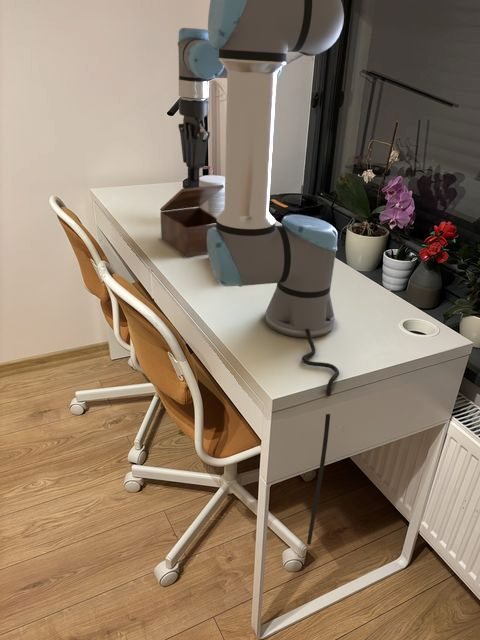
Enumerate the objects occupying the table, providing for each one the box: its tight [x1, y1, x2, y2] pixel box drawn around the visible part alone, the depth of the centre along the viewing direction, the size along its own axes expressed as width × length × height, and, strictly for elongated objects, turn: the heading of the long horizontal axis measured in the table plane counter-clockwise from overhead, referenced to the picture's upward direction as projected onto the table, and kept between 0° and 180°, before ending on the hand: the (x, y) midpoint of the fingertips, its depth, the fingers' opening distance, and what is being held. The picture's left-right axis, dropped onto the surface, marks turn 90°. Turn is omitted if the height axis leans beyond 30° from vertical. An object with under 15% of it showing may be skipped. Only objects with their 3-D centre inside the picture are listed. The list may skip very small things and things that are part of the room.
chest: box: [160, 207, 217, 258], centre depth 158 cm, size 16×13×8 cm
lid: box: [159, 185, 224, 212], centre depth 154 cm, size 16×13×1 cm
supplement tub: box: [199, 174, 225, 217], centre depth 172 cm, size 10×10×15 cm
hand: (193, 191), depth 152 cm, fingers closed
